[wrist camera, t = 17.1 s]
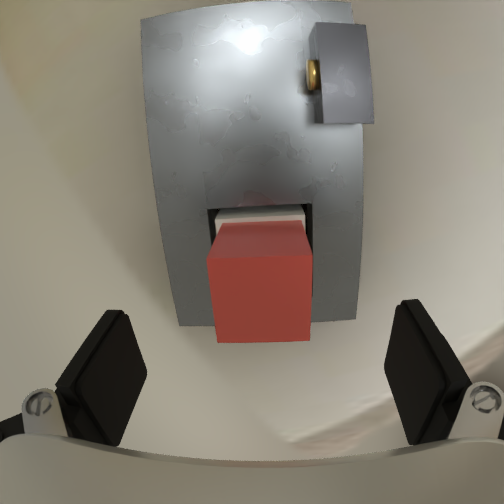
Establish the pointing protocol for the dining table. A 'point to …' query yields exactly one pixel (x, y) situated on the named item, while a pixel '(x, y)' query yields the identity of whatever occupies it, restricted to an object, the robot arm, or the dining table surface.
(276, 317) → the red block
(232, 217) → the button
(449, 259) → the dining table surface
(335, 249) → the panel
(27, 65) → the dining table surface
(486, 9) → the dining table surface
